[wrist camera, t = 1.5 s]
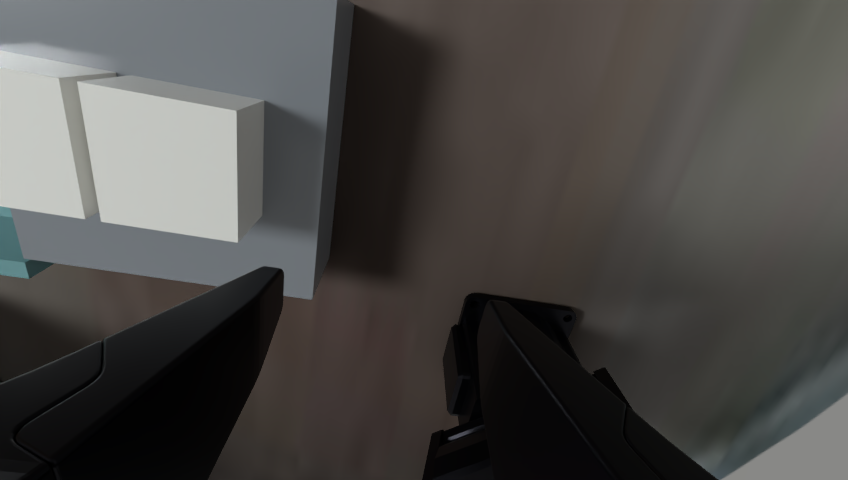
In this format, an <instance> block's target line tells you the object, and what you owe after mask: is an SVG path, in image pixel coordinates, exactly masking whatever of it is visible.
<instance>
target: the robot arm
mask: <svg viewBox="0 0 848 480" xmlns="http://www.w3.org/2000/svg"><path fill="white" fill-rule="evenodd" d="M283 293H284V272H283V270H282V269H280V268H275V267H268V266H262V267H260V268H258V269H255V270H253V271H251V272H249V273H247V274H245V275H242V276H240V277H238V278H236V279H234V280H231V281H229V282H227V283H225V284H223V285H220V286H218V287H216V288H214V289H212V290H209V291H207V292H205V293H203V294H201V295H199V296H196V297H194V298H192V299H190V300H188V301H185V302H183V303H181V304H179V305H177V306H174V307H172V308H170V309H168V310H166V311H164V312H161V313H159V314H157V315H155V316H153V317H150V318H148V319H146V320H144V321H142V322H139V323H137V324H135V325H133V326H131V327H128V328H126V329H124V330H122V331H120V332H117V333H115V334H113V335H111V336H109V337H106V338H105V339H104V340H103V342H101V341H97V342H95V343H93V344H91V345H89V346H87V347H84V348H82V349H80V350H78V351H76V352H73V353H71V354H69V355H67V356H64V357H62V358H60V359H57V360H55V361H53V362H51V363H48V364H46V365H44V366H41V367H39V368H37V369H34V370H32V371H30V372H27V373H25V374H22V375H20V376H17V377H15V378H12V379H10V380H7V381H5V382H2V383H0V480H208V478H209V476H210V474H211V472H212V470H213V468H214V466H215V464H216V461H217V459H218V457H219V455H220V453H221V451H222V449H223V447H224V445H225V443H226V441H227V439H228V437H229V435H230V433H231V431H232V429H233V427H234V425H235V423H236V421H237V419H238V417H239V415H240V413H241V411H242V409H243V407H244V405H245V403H246V401H247V399H248V397H249V395H250V393H251V391H252V389H253V387H254V385H255V383H256V380H257V378H258V376H259V373H260V371H261V368H262V365H263V363H264V360H265V357H266V354H267V351H268V348H269V346H270V343H271V340H272V337H273V334H274V331H275V328H276V326H277V323H278V320H279V317H280V314H281V311H282V306H283ZM472 301H477V303H476V304H470V303H471V302H472ZM566 315H569V316H568V317H567V318H564V316H566ZM575 321H576V314H575V312H574V311H573V310H572V309H571V308H569V307H563V306H556V305H550V304H543V303H536V302H530V301H523V300H516V299H510V298H503V297H496V296H490V295H483V294H476V293H472V294H469V295H468V296H466V298H465V300H464V304H463V307H462V311H461V314H460V318H459V322H458V325H456V324H455V325H454V326H453V327H451V330H450V334H449V338H448V342H447V345H446V349H445V353H444V356H443V367H444V378H445V390H446V401H447V411H448V412H449V413H450V415H453V416H458V421H459V426H456V427H454V428H451V429H449V430H446V431H444V430H440V431H437V432H435V433H432V436H431V440H430V445H429V450H428V455H427V460H426V464H425V469H424V474H423V479H422V480H718V479H717V478H715V477H714V476H713V475H711V474H710V473H709V472H708V471H706V470H705V469H704V468H702V467H701V466H700V465H699V464H697V463H696V462H695V461H693V460H692V459H691V458H690V457H688V456H687V455H686V454H685V453H683V452H682V451H681V450H679V449H678V448H677V447H676V446H674V445H673V444H672V443H671V442H669V441H668V440H667V439H666V438H665V437H663V436H662V435H661V434H660V433H659V432H657V431H656V430H655V429H654V428H653V427H651V426H650V425H649V424H648V423H647V422H646V421H644V420H643V419H642V418H641V417H640V416H639V415H637V414H636V413H635V412H634V411H633V409H632V408H631V406H630V405H629V403H628V402H627V400H626V399H625V397H624V396H623V394H622V392H621V391H620V389H619V388H618V386H617V385H616V383H615V382H614V380H613V379H612V377H611V376H610V374H609V373H608V371H607V370H606V368H605V367H604V368H601V369H599V370H596V371H593V372H594V374H592V375H591V374H590V373H589V372H588V371H586V370H585V369H584V368H583V367H582V366H581V364H580V362H579V360H578V358H577V356H576V354H575V352H574V350H573V348H572V346H571V344H570V342H569V340H568V337H569V335H570V333H571V330H572V328H573V326H574V323H575Z"/></svg>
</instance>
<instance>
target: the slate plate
mask: <svg viewBox="0 0 848 480" xmlns="http://www.w3.org/2000/svg"><path fill="white" fill-rule="evenodd" d="M353 13H354V4H353V3H351V2H350V1H348V0H0V51H5V52H10V53H16V54H21V55H26V56H32V57H37V58H42V59H48V60H53V61H58V62H64V63H69V64H74V65H80V66H85V67H90V68H95V69H101V70H106V71H111V72H116V76H117V77H120V76H129V75H133V76H138V77H143V78H149V79H154V80H159V81H164V82H170V83H175V84H180V85H186V86H191V87H196V88H202V89H207V90H212V91H218V92H223V93H228V94H234V95H239V96H244V97H249V98H255V99H260V100H264V148H263V208H262V216H261V217H260V219H259V220H258V221H257V222H256V223H255V224H254V225H253V226H252V228H251V229H250V230H249V231H248V232H247V233H246V234H245V235H244V237H243V238H242V239H241V240H240V241H239V242H238V243H236V242H230V241H223V240H217V239H210V238H204V237H197V236H191V235H184V234H178V233H171V232H165V231H158V230H152V229H145V228H139V227H132V226H125V225H119V224H112V223H106V222H101V219H100V213H99V212H98V213H96V214H94V215H92V216H90V217H89V218H87V219H80V218H73V217H67V216H60V215H54V214H47V213H41V212H34V211H28V210H21V209H15V208H10V210H11V214H12V218H13V221H14V225H15V229H16V232H17V236H18V240H19V243H20V247H21V251H22V254H23V258H24V259H30V260H37V261H44V262H51V263H58V264H65V265H72V266H79V267H86V268H93V269H100V270H107V271H114V272H121V273H128V274H135V275H142V276H149V277H156V278H163V279H170V280H177V281H184V282H191V283H198V284H205V285H212V286H220V285H223V284H225V283H227V282H229V281H231V280H234V279H236V278H238V277H240V276H242V275H245V274H247V273H249V272H251V271H253V270H255V269H258V268H260V267H262V266H268V267H275V268H280V269H282V270H283V272H284V293H283V296H289V297H296V298H303V299H310V300H312V299H313V297H314V294H315V292H316V289H317V287H318V284H319V282H320V279H321V277H322V274H323V272H324V269H325V267H326V264H327V262H328V259H329V256H330V246H331V235H332V225H333V215H334V205H335V195H336V185H337V175H338V165H339V155H340V144H341V134H342V124H343V114H344V104H345V94H346V84H347V74H348V64H349V53H350V43H351V33H352V23H353Z"/></svg>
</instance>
